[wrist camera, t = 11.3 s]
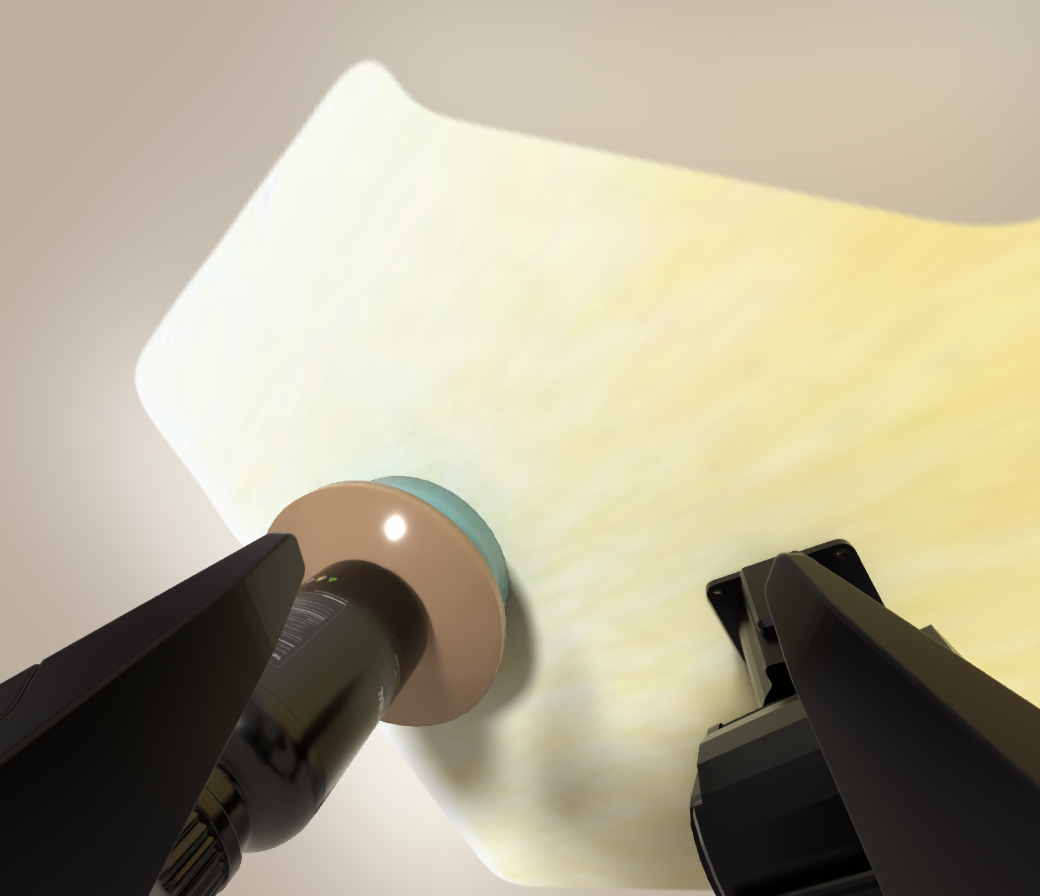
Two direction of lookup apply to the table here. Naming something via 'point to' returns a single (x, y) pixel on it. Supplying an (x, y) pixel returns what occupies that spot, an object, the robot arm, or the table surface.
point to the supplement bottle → (302, 721)
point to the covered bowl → (418, 579)
